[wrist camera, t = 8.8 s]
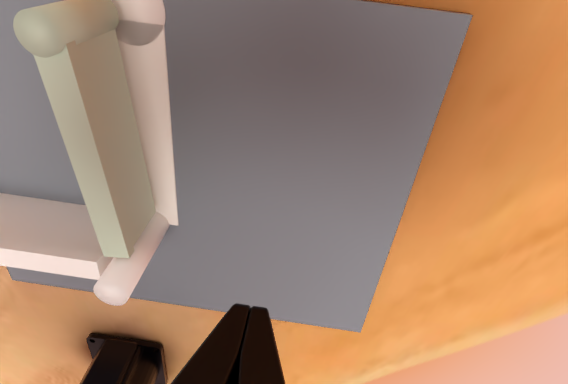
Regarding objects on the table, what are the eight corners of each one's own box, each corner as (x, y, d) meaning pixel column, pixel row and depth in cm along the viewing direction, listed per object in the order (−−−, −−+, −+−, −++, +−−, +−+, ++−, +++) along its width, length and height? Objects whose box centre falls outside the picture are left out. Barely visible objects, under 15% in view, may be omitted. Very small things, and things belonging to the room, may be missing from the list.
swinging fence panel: (114, -6, 16) (50, 9, 13) (160, 211, 23) (128, 264, 19) (79, -7, 16) (5, 8, 13) (135, 209, 23) (98, 261, 19)
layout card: (360, 327, 29) (367, 415, 23) (15, 276, 29) (-54, 350, 24) (470, 11, 16) (539, 45, 11) (-131, -66, 17) (-341, -70, 12)
